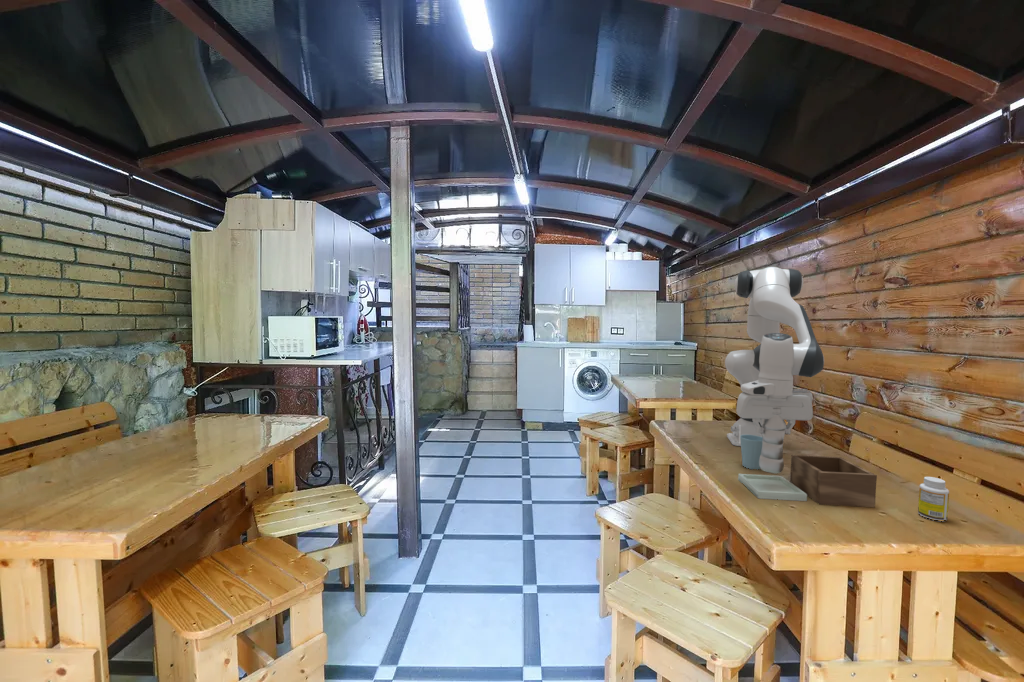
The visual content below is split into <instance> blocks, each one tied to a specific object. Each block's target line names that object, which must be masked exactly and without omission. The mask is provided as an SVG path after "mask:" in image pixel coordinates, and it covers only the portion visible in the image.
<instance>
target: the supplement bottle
mask: <svg viewBox="0 0 1024 682" xmlns="http://www.w3.org/2000/svg"><path fill="white" fill-rule="evenodd" d="M923 477H924V478H923V483H920V484H919V487H918V505H917V513H918V515H919V514H920V515H919V516H921V517H922V516H924V517H927V518H930V519H934V520H946V521H947V520H948V517H949V516H948V514H949V501H950V490H949V489H948V488H947V487H946V481H945V480H944V479H941V478H938V477H934V476H923ZM924 517H923V518H924ZM927 518H926V519H927ZM930 519H929V520H930ZM934 520H933V521H934Z"/></svg>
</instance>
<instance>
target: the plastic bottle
mask: <svg viewBox="0 0 1024 682" xmlns="http://www.w3.org/2000/svg"><path fill="white" fill-rule="evenodd" d="M772 414H774V416H773V417H772V418H770V419H763V421H762V427H763V428H764V433H762V435H763V437H762V440H763V441H762V450H761V455H760V459H759V466H760V470H761V471H763V472H765V473H769V474H774V475H775V474H776V475H777V474H781V473H782V472H783V471H784V467H785V461H784V456H783V455H784V454H783V450H784V449H783V446H784V441H785V440H784V438H785V436H786V434H785V431H786V425H787V423H786V421H785V420H783V419H782V418H781V417H780V415H781V414H782V413H781V408H773V413H772Z"/></svg>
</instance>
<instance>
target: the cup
mask: <svg viewBox="0 0 1024 682" xmlns="http://www.w3.org/2000/svg"><path fill="white" fill-rule="evenodd" d="M740 439H741V446H740V448H741V449H740V450H741V451H740V452H741V463H742V467H743V466H744V467H743V468H745V467H746V469H748V468H749V470H753V469H757V470H758V469H759V470H761V468H760V466H759V459H760V455H761V450H762V441H763V440H762V437H760V436H755V435H741V436H740Z"/></svg>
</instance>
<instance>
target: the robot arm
mask: <svg viewBox="0 0 1024 682" xmlns="http://www.w3.org/2000/svg"><path fill="white" fill-rule="evenodd" d="M803 277H804V276H803V275H802V273H801V271H800V270H799V269H794V268H788V269H784V268H780V267H777V266H768V267H765V268H762V269H755V270H749V269H747V270H744V271H743V270H742V271H740V272H739V273H737V276H736V278H735V280H734V284H733V285H734V287H733V288H734V290H735V292H736V295H737V296H738V297H740V298H744V299H748V298H750V299H749V303H748V309H747V318H746V319H747V321H746V323H747V324H746V334H747V336H748V337H749V338H750V339H752V340H754V341H756V342H758V343H760V344H759V345H757V346H756V347H755V348H753V349H740V350H739V349H738V350H737V349H736V350H733V351H729V352H728V354H727V355H726V356H725V359H724V366H725V369H726V370H727V373H729V374H730V375H732V376H733V377H734V378H735V379H736V381H738V384H739V385H740V391H742V392H740V394H739V395H738V397H737V400H736V401H737V402H736V414H737V416H739V417H740V418H739V419H738V420H737V421H735V422H734V423H733V425H731V426H730V431H731V432H728V433H726V437H727V439H728V440H729V441H730V443H731V445H732V446H737V447H741V439H740V436H741V435H755V436H760V437H763V435H762V433H764V428H763V427H762V421H763V419H770V418H772V417H773V416H774V414H772V413H773V408H781V413H782V414H781V415H780V417H781V418H782V419H783V420H784V421H785V420H786V422H787V423H786V431H785V435H787V436H789V435H791V434H792V433H791V431H792V428H793V427H794V426H795V424H796V421H811V420H812V419H813V416H814V409H813V404H812V401H813V393H812V392H811V390H808V388H796V387H795V388H794V376H799V377H804V378H806V377H807V378H813V377H815V376H816V375H817V374H819V373H821V372H822V371H823V370H824V366H825V356H824V353H823V351H822V348H821V346H820V345H819V343H818V341H817V338H816V335H815V332H814V330H813V327H812V324H811V321H810V318H809V315H808V314H807V311H806V309H805V307H804V306H803V305H802V304H799V303H798V302H796V301H795V300H794V298H795V297H797V296H798V295H799V294H800V293H801V290H802V289H803V287H804V278H803ZM780 323H781V324H784V325H786V326H789V327H791V328H792V329H793V330H794V332H795V334H796V337H797V341H798V343H794V340H793V336H792V335H789V334H788V333H782V332H780V328H781V327H780V325H781V324H780Z"/></svg>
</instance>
